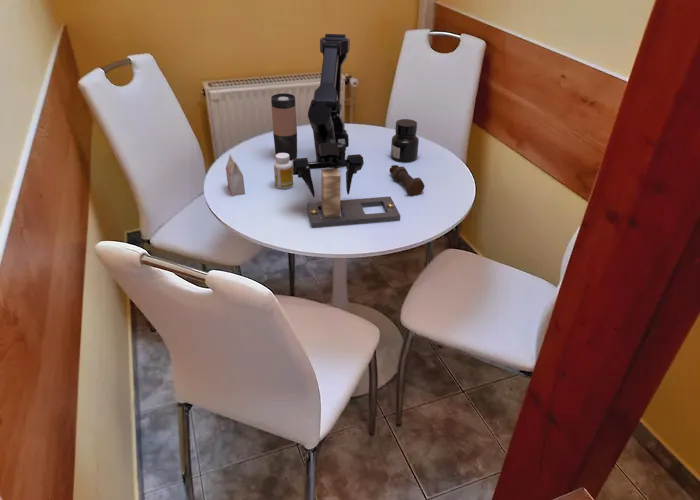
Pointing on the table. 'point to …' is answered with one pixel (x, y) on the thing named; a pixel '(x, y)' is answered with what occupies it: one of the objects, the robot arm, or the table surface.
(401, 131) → the ink bottle
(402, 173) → the bolt
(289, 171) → the supplement bottle
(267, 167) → the table surface
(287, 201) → the table surface
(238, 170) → the tea bag
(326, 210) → the birch peg
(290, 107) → the travel mug
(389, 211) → the strike plate
